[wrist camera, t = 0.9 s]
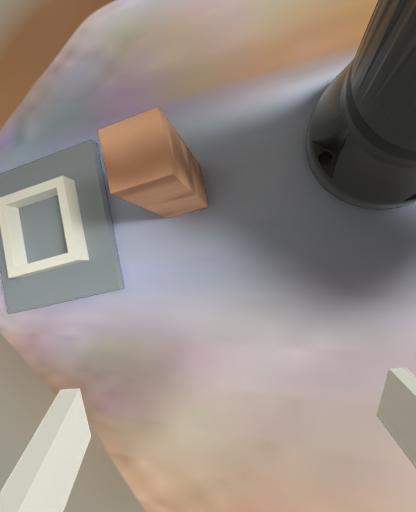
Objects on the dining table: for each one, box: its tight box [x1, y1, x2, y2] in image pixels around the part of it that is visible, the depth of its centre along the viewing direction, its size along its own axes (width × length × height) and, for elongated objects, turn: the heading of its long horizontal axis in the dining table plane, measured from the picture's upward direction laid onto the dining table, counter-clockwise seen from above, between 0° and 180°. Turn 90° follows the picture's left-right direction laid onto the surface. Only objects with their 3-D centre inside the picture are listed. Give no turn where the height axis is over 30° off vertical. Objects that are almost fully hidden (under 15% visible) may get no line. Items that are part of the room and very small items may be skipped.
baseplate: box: [0, 140, 125, 314], centre depth 35 cm, size 20×18×3 cm
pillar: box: [98, 107, 208, 218], centre depth 26 cm, size 6×6×12 cm
